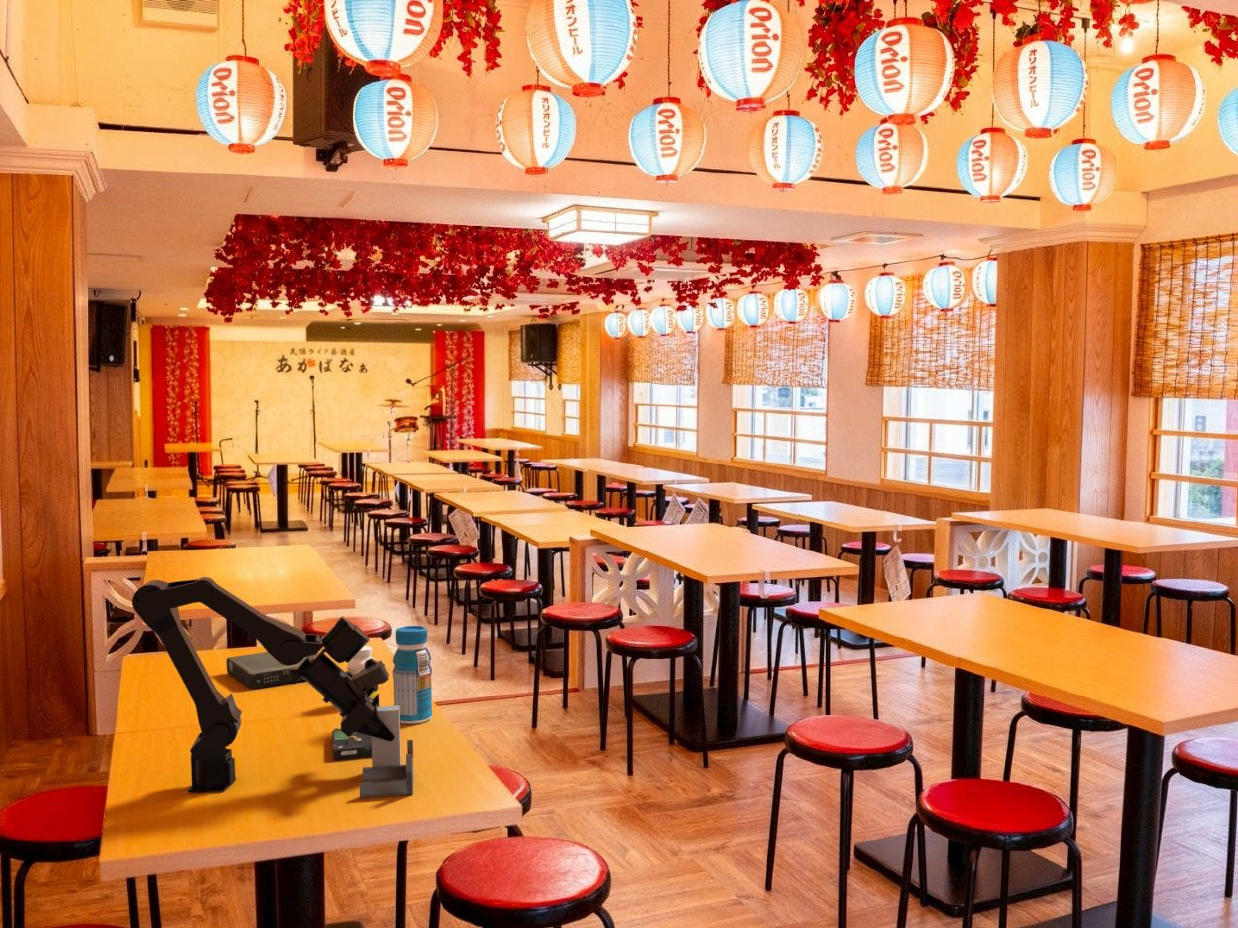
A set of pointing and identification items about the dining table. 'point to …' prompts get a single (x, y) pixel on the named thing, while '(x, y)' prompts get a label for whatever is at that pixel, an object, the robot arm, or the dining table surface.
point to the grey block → (383, 749)
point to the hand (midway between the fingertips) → (393, 736)
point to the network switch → (260, 670)
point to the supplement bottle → (361, 663)
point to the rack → (389, 778)
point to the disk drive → (351, 745)
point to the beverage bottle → (412, 675)
